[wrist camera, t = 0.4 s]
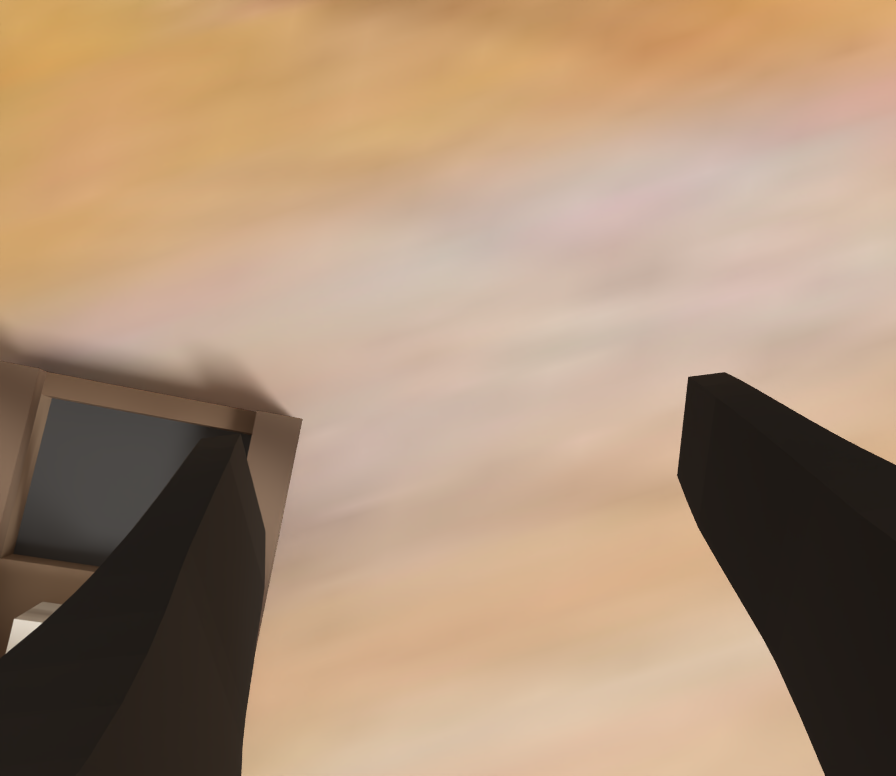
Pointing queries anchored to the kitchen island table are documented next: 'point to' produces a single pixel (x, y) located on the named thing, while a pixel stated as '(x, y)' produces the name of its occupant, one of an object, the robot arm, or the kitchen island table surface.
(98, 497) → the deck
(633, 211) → the kitchen island table surface
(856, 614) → the robot arm
